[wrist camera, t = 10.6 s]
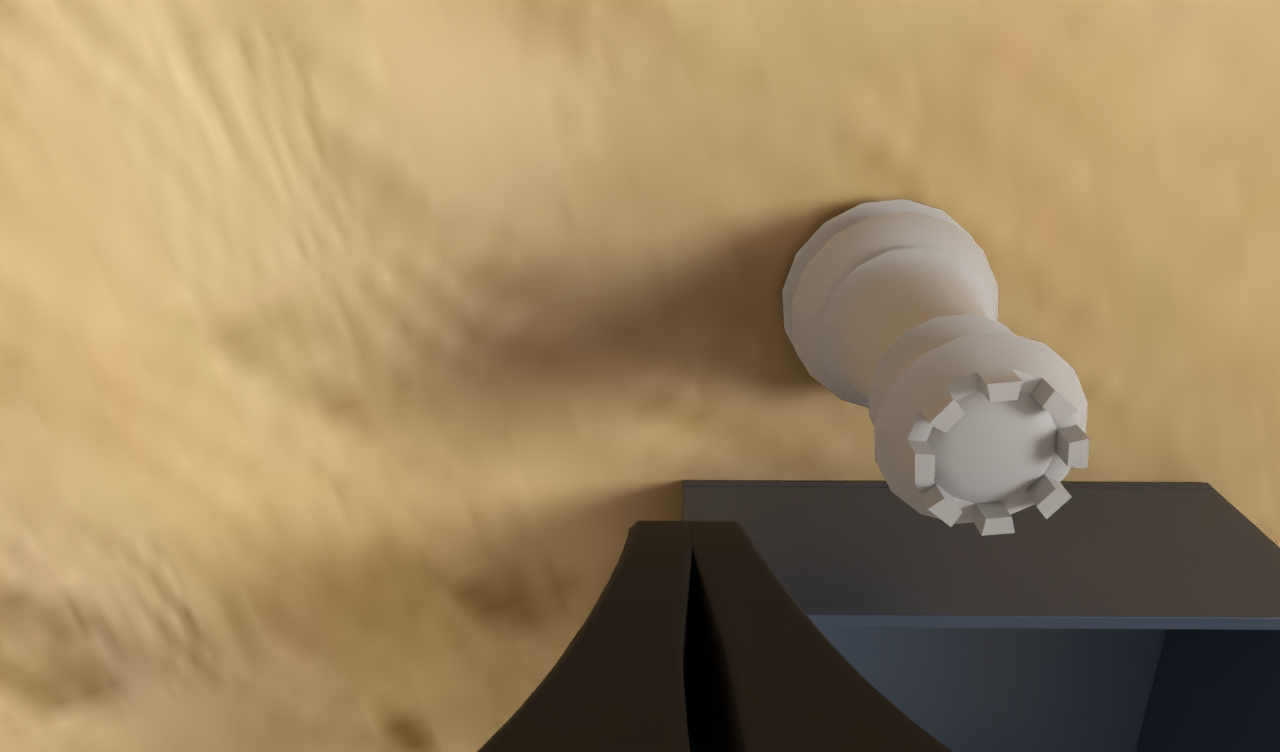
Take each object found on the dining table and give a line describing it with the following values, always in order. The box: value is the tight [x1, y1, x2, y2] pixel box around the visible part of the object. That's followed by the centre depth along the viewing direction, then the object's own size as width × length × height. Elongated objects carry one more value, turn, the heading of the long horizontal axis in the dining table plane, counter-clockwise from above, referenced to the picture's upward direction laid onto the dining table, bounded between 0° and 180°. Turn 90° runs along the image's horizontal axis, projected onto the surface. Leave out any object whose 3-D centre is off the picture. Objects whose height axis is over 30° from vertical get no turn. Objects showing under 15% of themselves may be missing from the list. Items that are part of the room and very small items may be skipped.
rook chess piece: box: [782, 199, 1090, 536], centre depth 18 cm, size 4×4×8 cm
